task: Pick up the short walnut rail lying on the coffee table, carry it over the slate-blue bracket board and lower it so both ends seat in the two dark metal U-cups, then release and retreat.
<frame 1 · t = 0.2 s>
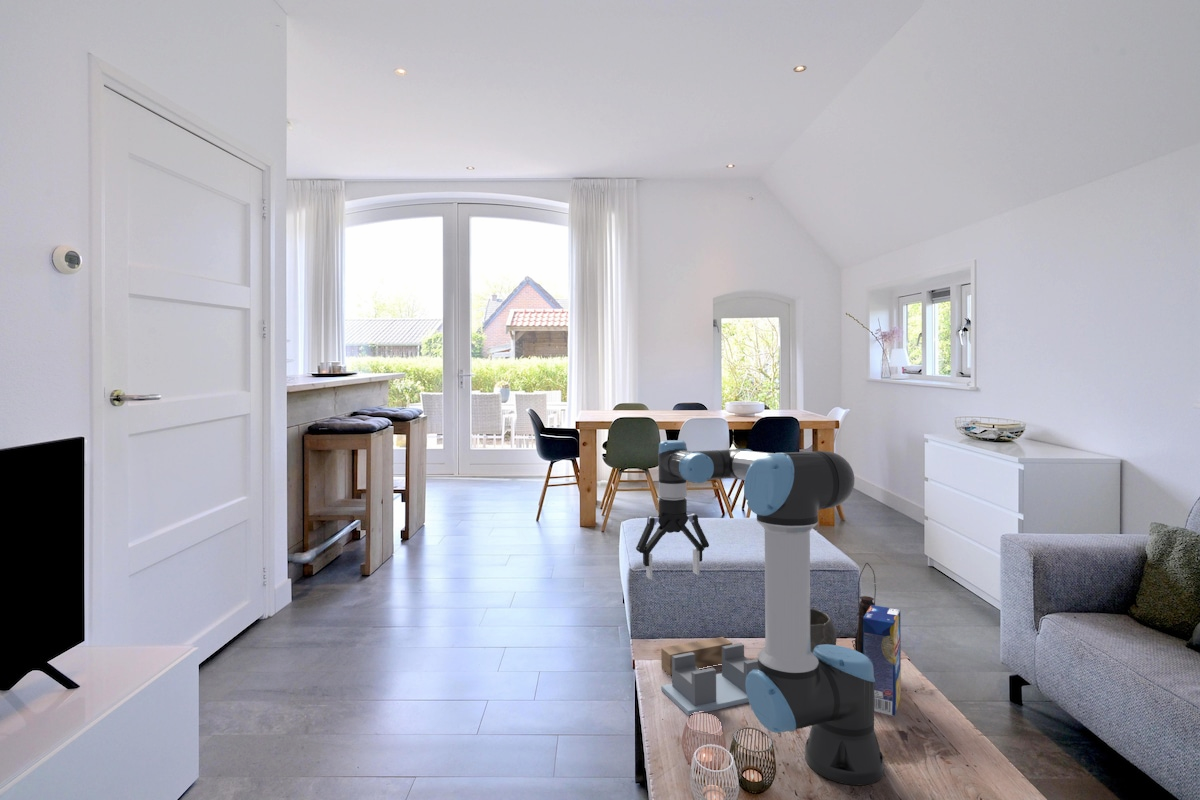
hand: (673, 575, 171), 27 cm above the table, fingers open, 13 cm apart
bowl: (802, 659, 181), on the table
beverage box: (882, 703, 155), on the table
lantern: (867, 673, 171), on the table
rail: (697, 666, 177), on the table
bracket: (719, 692, 161), on the table
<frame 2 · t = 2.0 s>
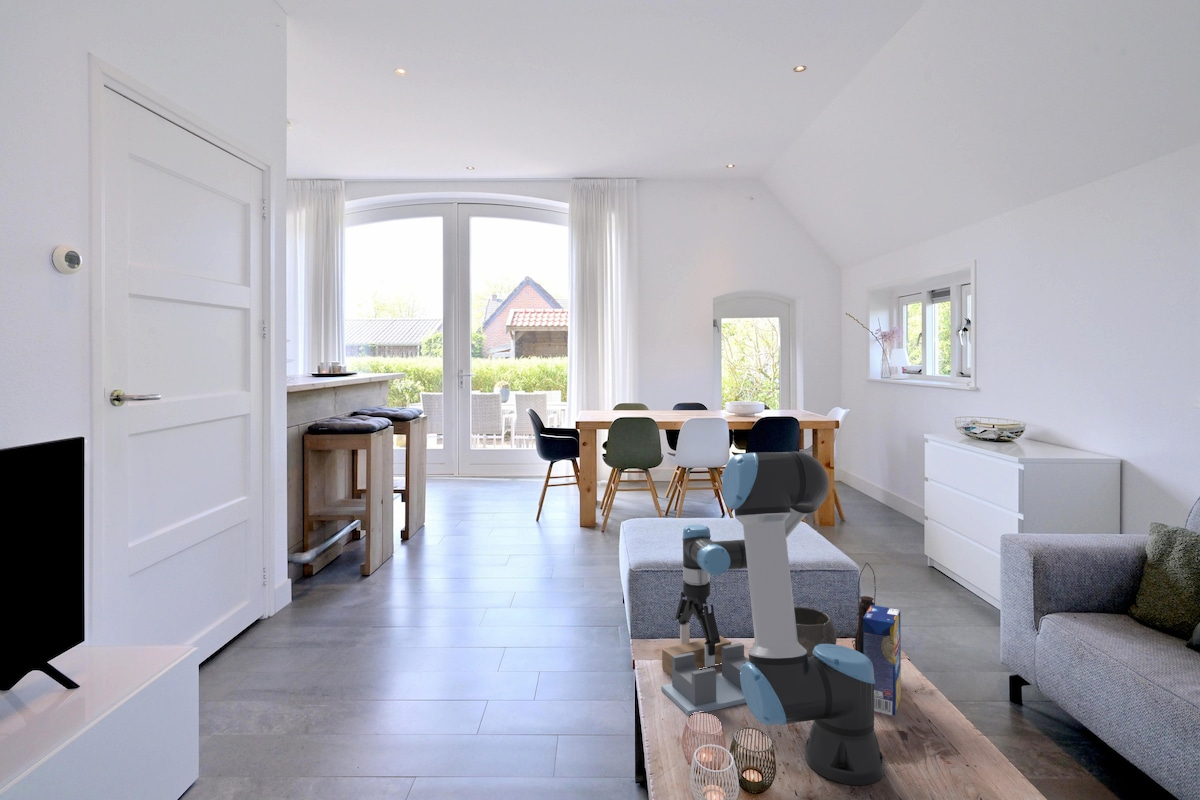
hand: (696, 656, 177), 3 cm above the table, fingers open, 13 cm apart
nothing on the table moved.
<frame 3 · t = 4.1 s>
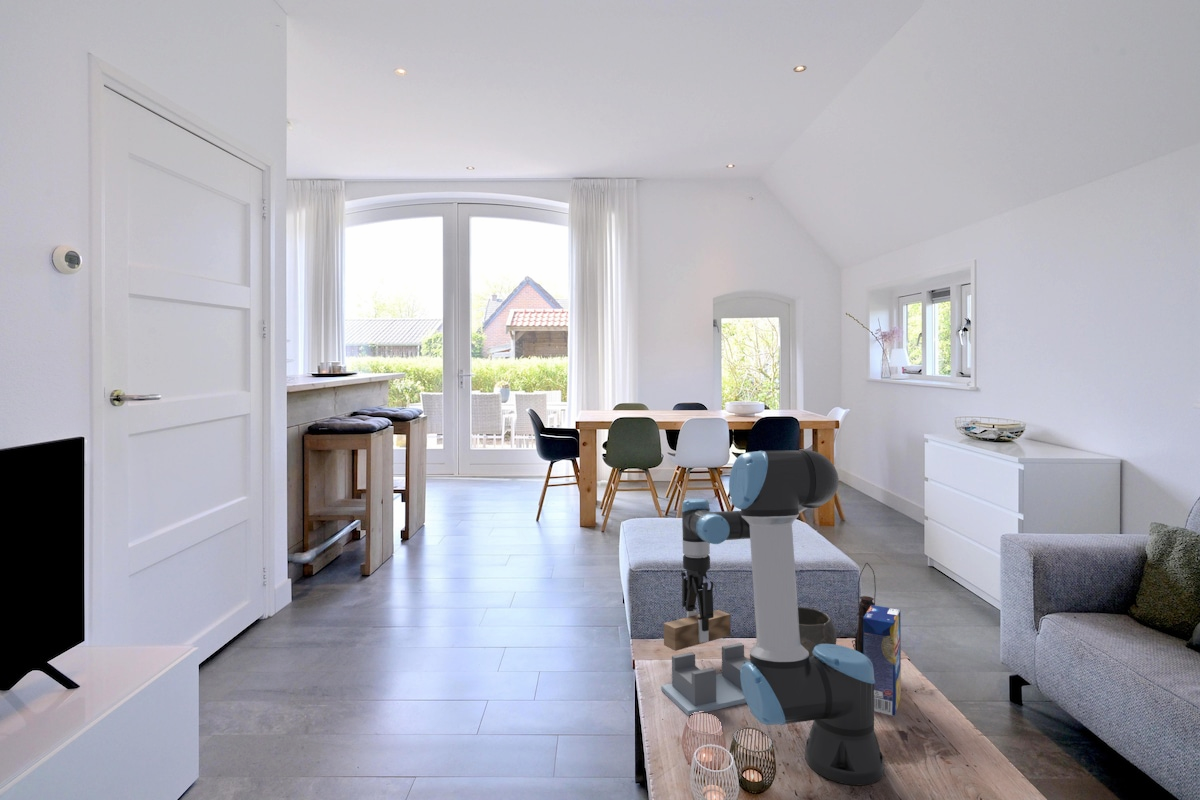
hand: (697, 637, 176), 8 cm above the table, fingers closed on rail, 6 cm apart
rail: (697, 640, 176), point 7 cm above the table, touching gripper
everything else where it was.
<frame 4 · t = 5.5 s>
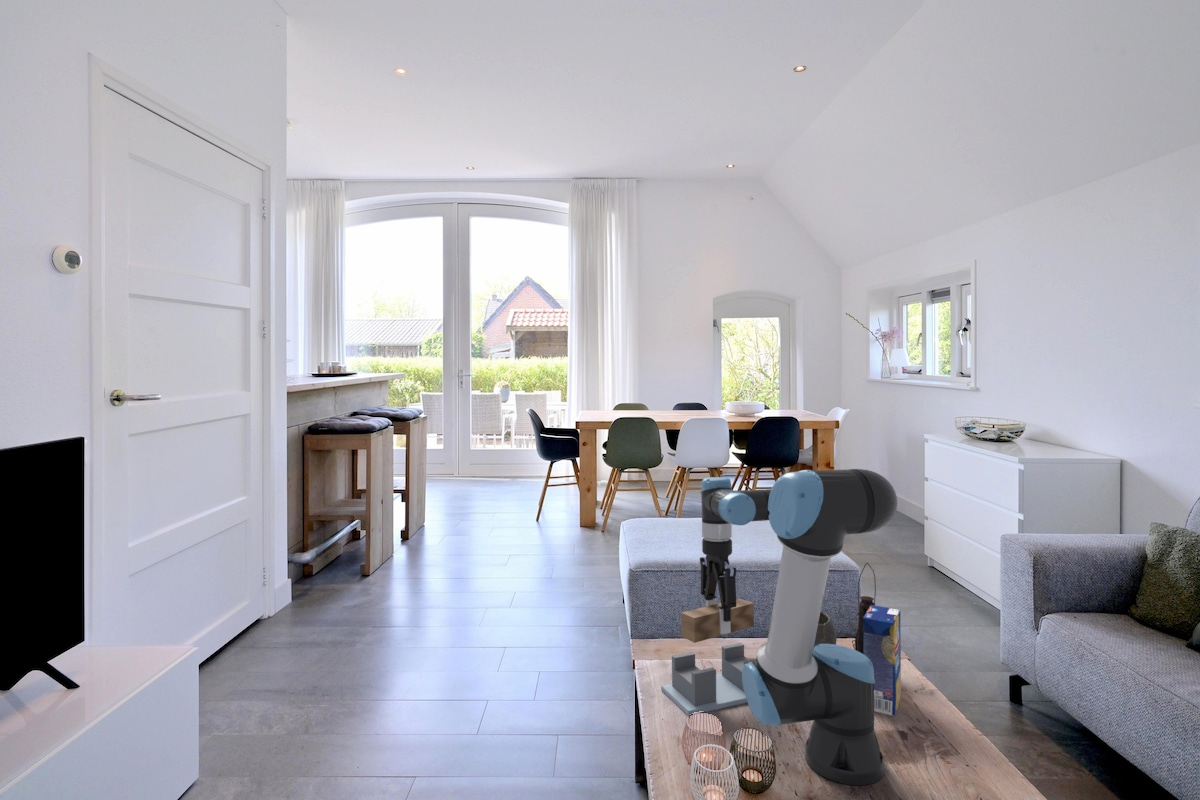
hand: (718, 629, 161), 16 cm above the table, fingers closed on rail, 6 cm apart
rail: (718, 631, 161), point 16 cm above the table, touching gripper
everything else where it was.
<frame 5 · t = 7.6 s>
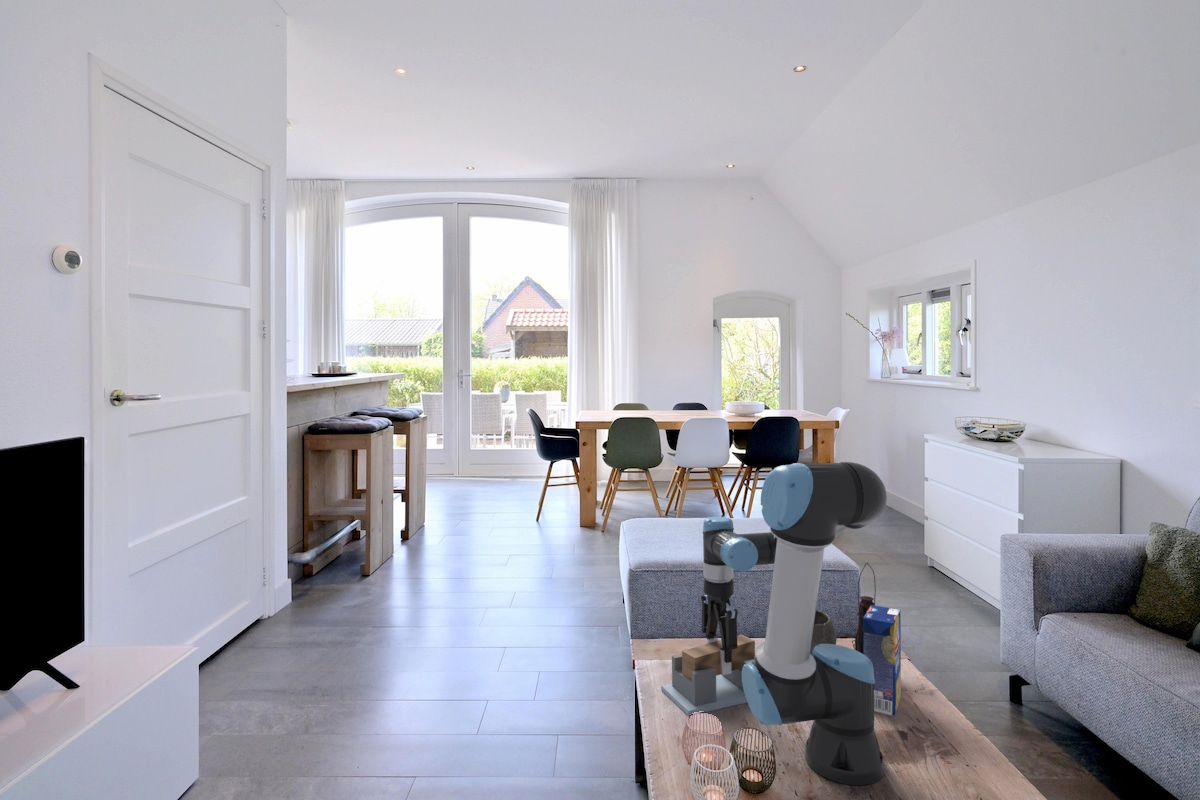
hand: (719, 668, 161), 6 cm above the table, fingers closed on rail, 5 cm apart
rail: (719, 669, 161), point 6 cm above the table, touching bracket, gripper
everything else where it was.
when the fingers open (6 cm above the table, at t = 7.8 s): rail stays where it is, resting on bracket.
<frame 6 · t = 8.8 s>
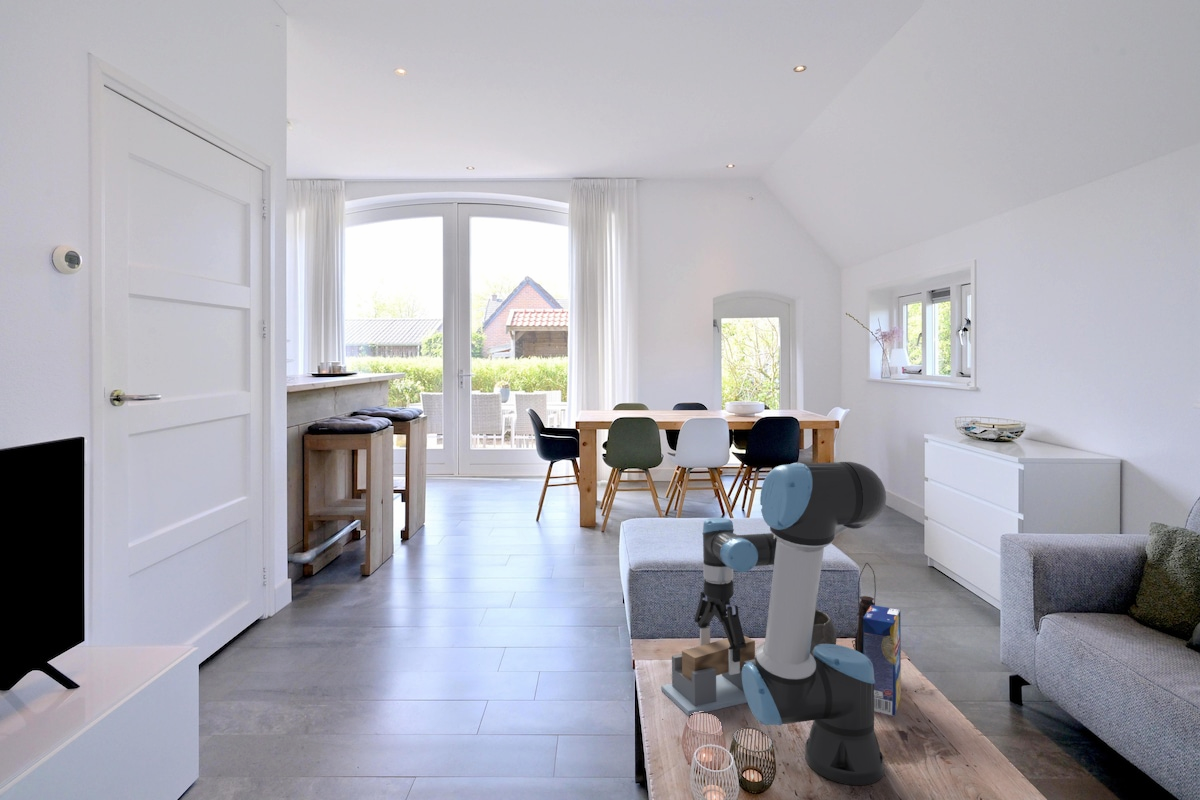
hand: (719, 662, 161), 8 cm above the table, fingers open, 13 cm apart
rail: (719, 669, 161), point 6 cm above the table, touching bracket
everything else where it was.
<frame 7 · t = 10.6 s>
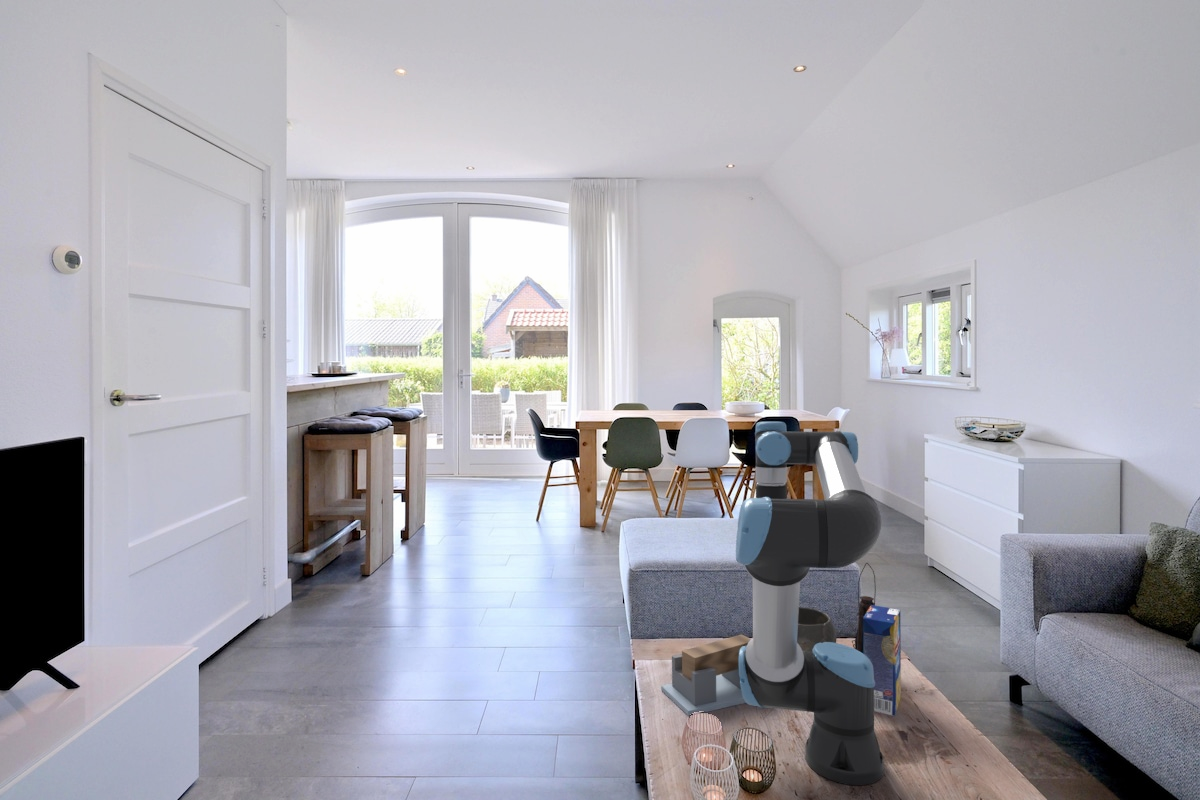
hand: (772, 569, 156), 33 cm above the table, fingers open, 13 cm apart
nothing on the table moved.
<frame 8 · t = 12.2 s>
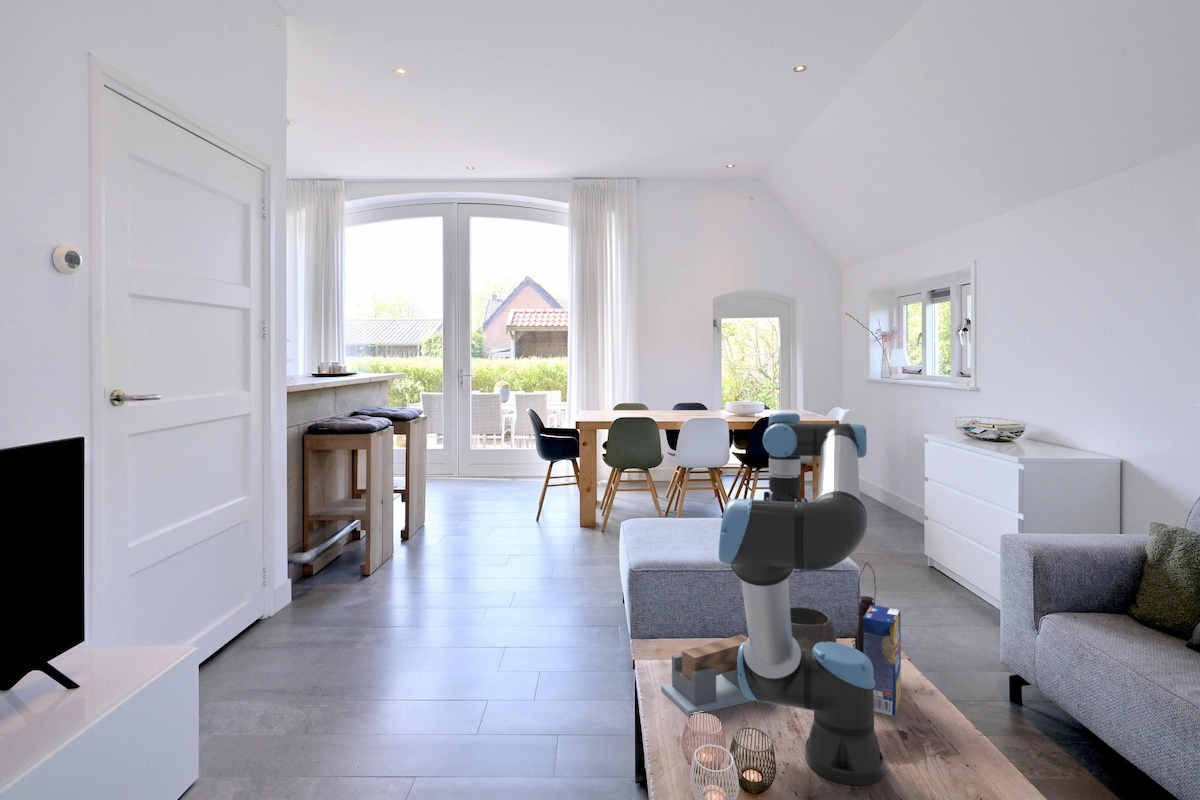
hand: (785, 561, 156), 35 cm above the table, fingers open, 13 cm apart
nothing on the table moved.
at the end: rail 0.3 cm off-centre on the bracket, point 6.0 cm above the bracket's base; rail tilted 0°; the gripper is holding nothing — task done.
